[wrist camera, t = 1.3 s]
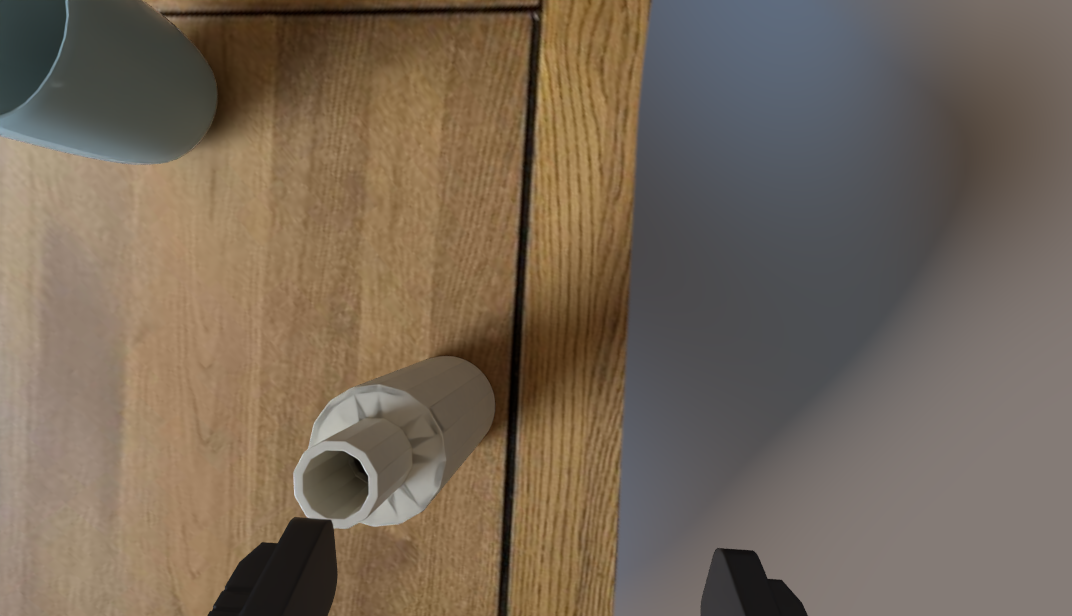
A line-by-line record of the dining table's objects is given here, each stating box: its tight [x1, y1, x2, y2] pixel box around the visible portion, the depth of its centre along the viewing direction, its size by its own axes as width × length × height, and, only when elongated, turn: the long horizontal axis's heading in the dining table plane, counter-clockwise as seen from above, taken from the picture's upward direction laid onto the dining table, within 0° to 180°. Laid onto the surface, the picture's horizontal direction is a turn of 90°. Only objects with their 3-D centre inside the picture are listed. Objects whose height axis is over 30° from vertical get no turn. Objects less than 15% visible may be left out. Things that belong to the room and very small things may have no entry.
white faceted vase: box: [294, 356, 495, 529], centre depth 30 cm, size 6×6×16 cm
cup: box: [0, 0, 218, 165], centre depth 33 cm, size 10×10×13 cm
